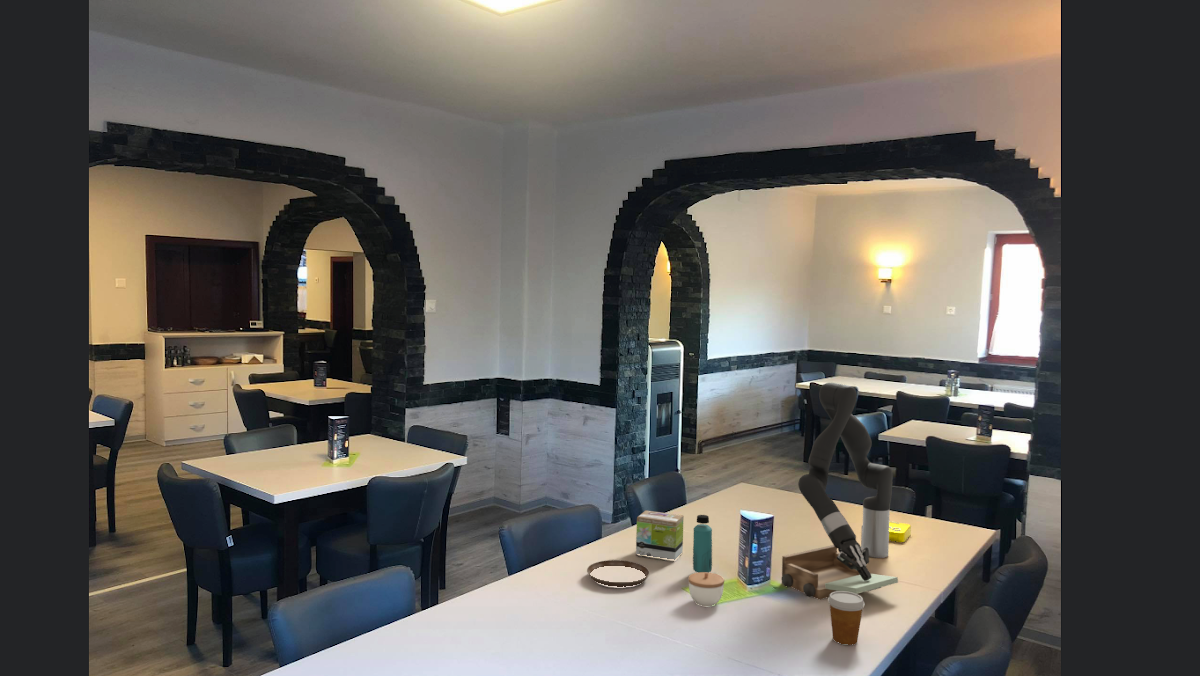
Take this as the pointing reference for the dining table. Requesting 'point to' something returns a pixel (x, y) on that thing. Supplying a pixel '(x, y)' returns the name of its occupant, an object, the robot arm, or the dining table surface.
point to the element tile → (899, 531)
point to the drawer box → (814, 571)
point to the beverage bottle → (702, 545)
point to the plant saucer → (618, 563)
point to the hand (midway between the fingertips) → (868, 579)
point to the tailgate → (861, 583)
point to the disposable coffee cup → (845, 616)
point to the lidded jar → (706, 588)
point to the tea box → (659, 534)
